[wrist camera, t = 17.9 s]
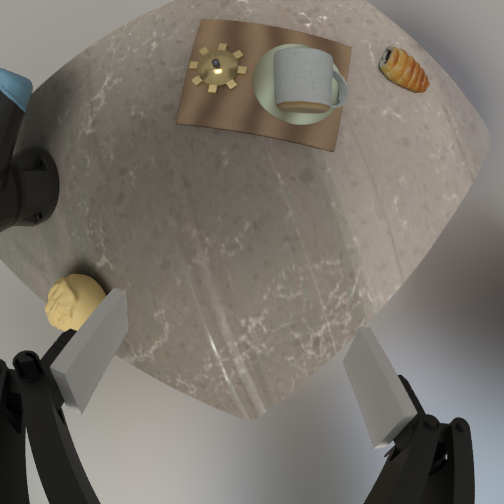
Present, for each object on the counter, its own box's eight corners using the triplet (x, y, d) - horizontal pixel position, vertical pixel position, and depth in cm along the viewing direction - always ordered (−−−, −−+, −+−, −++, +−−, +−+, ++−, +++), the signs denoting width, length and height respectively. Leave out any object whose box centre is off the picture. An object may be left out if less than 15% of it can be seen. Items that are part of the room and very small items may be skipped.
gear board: (178, 124, 36) (175, 123, 34) (203, 22, 30) (201, 17, 28) (331, 151, 38) (335, 151, 36) (348, 50, 32) (352, 46, 30)
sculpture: (82, 253, 43) (49, 278, 33) (125, 300, 46) (100, 333, 36) (59, 286, 46) (30, 312, 36) (97, 327, 49) (74, 359, 39)
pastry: (427, 75, 32) (439, 71, 29) (418, 103, 34) (430, 101, 31) (384, 45, 31) (394, 38, 27) (374, 73, 33) (384, 67, 29)
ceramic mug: (272, 114, 34) (278, 104, 27) (271, 61, 31) (277, 42, 24) (345, 119, 34) (366, 113, 27) (343, 68, 31) (363, 53, 24)
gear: (185, 91, 33) (179, 85, 30) (197, 44, 30) (192, 35, 27) (240, 97, 34) (239, 92, 30) (251, 49, 31) (251, 40, 27)
